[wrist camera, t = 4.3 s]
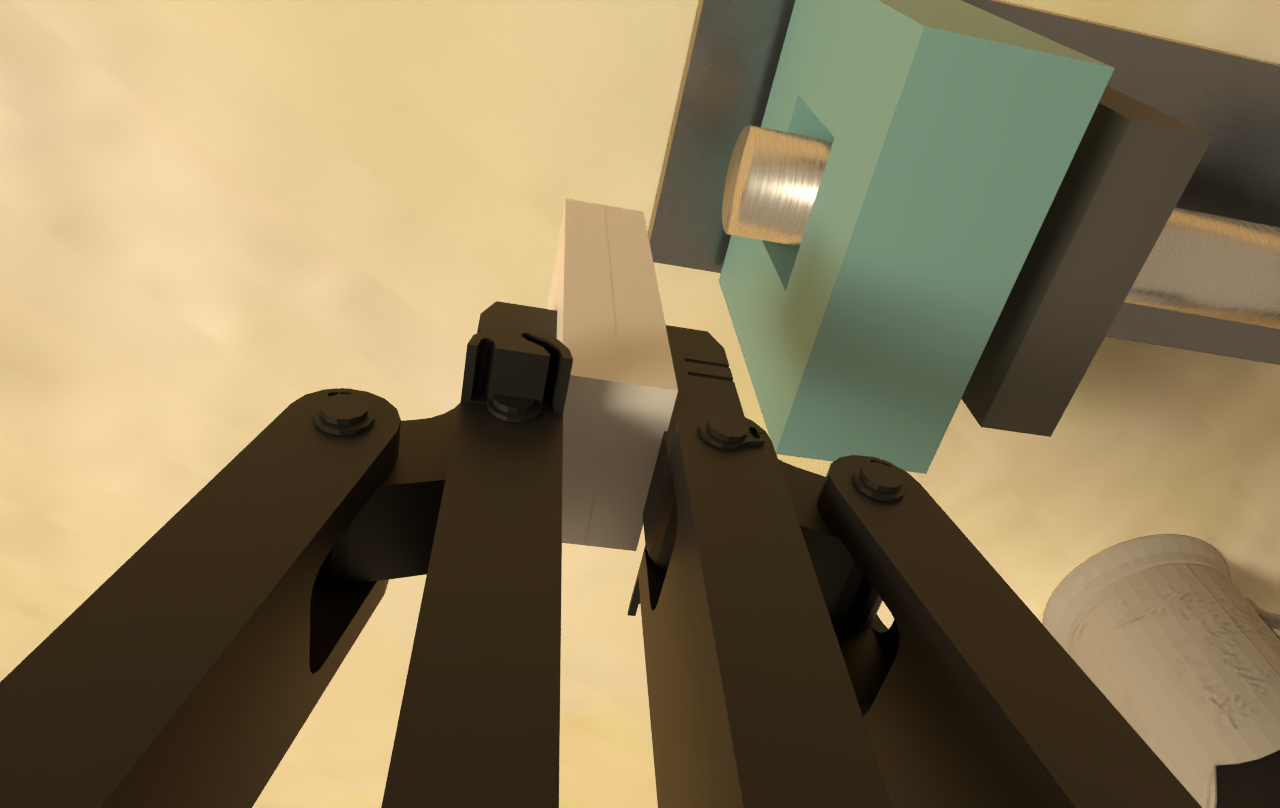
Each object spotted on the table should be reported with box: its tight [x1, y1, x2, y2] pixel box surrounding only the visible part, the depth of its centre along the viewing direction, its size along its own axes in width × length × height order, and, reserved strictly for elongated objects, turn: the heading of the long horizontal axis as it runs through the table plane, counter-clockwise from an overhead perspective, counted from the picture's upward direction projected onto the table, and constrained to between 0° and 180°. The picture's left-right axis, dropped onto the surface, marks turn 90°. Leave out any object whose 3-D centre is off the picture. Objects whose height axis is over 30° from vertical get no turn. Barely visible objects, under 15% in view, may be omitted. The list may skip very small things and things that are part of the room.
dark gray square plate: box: [961, 86, 1213, 437], centre depth 25 cm, size 2×8×8 cm, turn 169°
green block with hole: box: [719, 0, 1115, 474], centre depth 24 cm, size 4×10×10 cm, turn 168°
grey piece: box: [648, 0, 1280, 365], centre depth 27 cm, size 26×10×9 cm, turn 79°
